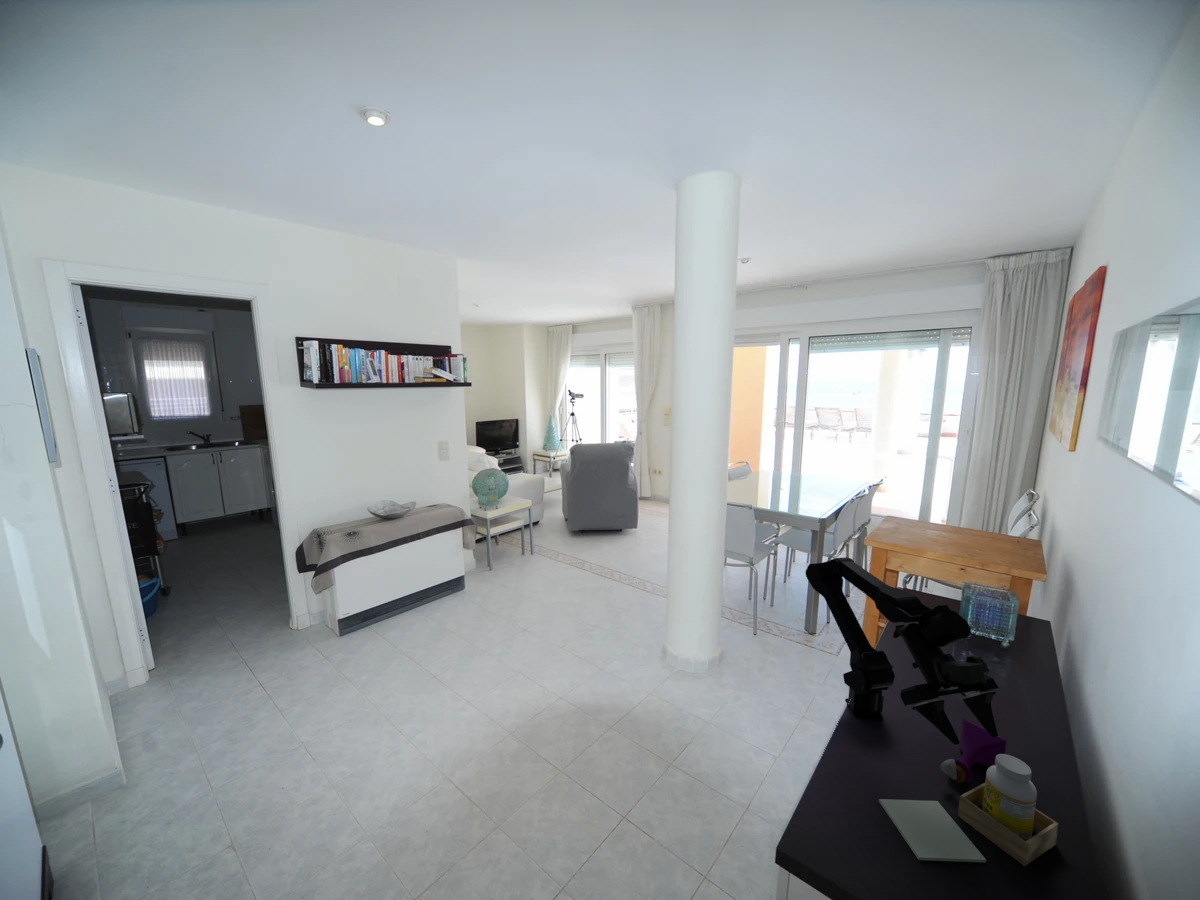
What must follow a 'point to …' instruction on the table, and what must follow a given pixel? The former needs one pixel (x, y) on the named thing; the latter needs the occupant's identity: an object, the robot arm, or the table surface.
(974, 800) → the wooden box
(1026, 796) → the supplement bottle
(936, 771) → the table surface
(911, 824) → the sage mat
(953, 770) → the perfume bottle
